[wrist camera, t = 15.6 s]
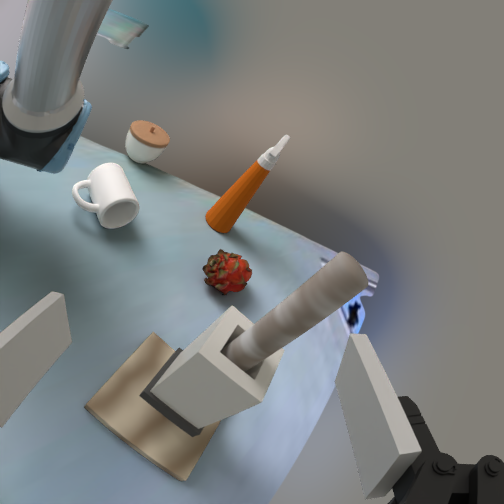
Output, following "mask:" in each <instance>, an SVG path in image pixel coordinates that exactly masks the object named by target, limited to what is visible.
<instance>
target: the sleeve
mask: <svg viewBox="0 0 504 504" xmlns="http://www.w3.org/2000/svg"><path fill="white" fill-rule="evenodd" d="M252 325H254V324H253V323H252V322H251V321H250V320H249V319H247V318H246V317H245V316H244V315H243V314H242V313H241V312H239V311H238V310H237V309H236V308H235V307H234V306H233V305H232V306H231V307H230V308H229V309H228V310H226V311H225V312H224V313H223V314H222V315H221V316H220V317H219V318H218V319H217V320H216V321H215V322H214V323H212V324H211V325H210V326H209V327H208V328H207V329H206V330H205V331H204V332H203V333H202V334H200V335H199V336H198V337H197V338H196V339H195V340H194V341H193V342H192V343H191V344H190V345H188V346H187V347H186V348H185V349H184V350H183V351H182V352H181V353H180V354H179V355H178V357H177V358H176V359H175V360H174V362H173V363H172V364H171V365H170V367H169V368H168V369H167V370H166V372H165V373H164V374H163V375H162V377H161V378H160V379H159V381H158V382H157V383H156V384H155V386H154V387H153V388H152V389H151V391H150V392H152V393H153V394H154V395H155V396H156V397H158V398H159V399H160V400H161V401H162V402H164V403H165V404H166V405H167V406H169V407H170V408H171V409H172V410H174V411H175V412H176V413H178V414H179V415H180V416H181V417H183V418H184V419H185V420H187V421H188V422H189V423H191V424H192V425H194V426H195V427H196V428H198V429H200V428H202V427H205V426H207V425H210V424H212V423H215V422H217V421H220V420H222V419H225V418H227V417H230V416H232V415H234V414H237V413H239V412H241V411H244V410H246V409H248V408H250V407H253V406H255V405H257V404H259V403H261V402H262V401H263V398H264V396H265V394H266V392H267V389H268V387H269V385H270V383H271V380H272V378H273V376H274V374H275V371H276V369H277V367H278V364H279V362H280V360H281V357H282V355H283V353H284V349H283V348H281V349H279V350H278V351H276V352H275V353H273V354H272V355H270V356H269V357H267V358H266V359H264V360H262V361H261V362H259V363H258V364H256V365H255V366H253V367H251V368H250V369H248V370H247V371H245V372H244V371H242V370H241V369H240V368H239V367H238V366H236V365H235V364H234V363H233V362H231V361H230V360H229V359H228V358H227V357H225V356H224V355H223V354H222V353H221V352H220V351H221V350H222V349H223V348H224V347H226V346H227V345H228V344H230V343H231V342H232V341H233V340H235V339H236V338H237V337H239V336H240V335H241V334H242V333H244V332H245V331H246V330H247V329H249V328H250V327H251V326H252Z"/></svg>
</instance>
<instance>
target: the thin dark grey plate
mask: <svg viewBox="0 0 504 504" xmlns="http://www.w3.org/2000/svg"><path fill="white" fill-rule="evenodd" d="M182 351H183V350H182V349H180V348H178V349H177V350H176V351H175V352H174V353H173V354H172V356H171V357H170V358H169V359H168V360H167V362H166V363H165V364H164V365H163V367H162V368H161V369H160V370H159V372H158V373H157V374H156V375H155V376H154V378H153V379H152V380H151V381H150V383H149V384H148V385H147V386H146V388H145V389H144V390H143V391H142V392H141V394H140V395H139V396H140V397H141V398H142V399H144V400H145V401H146V402H147V403H148V404H150V405H151V406H152V407H153V408H155V409H156V410H157V411H158V412H160V413H161V414H162V415H163V416H165V417H166V418H167V419H168V420H170V421H171V422H172V423H174V424H175V425H176V426H178V427H179V428H180V429H182V430H183V431H184V432H186V433H187V434H189V435H190V436H191V437H194V436H197V435H200V433H201V432H202V430H203V428H204V427H202V428H200V429H198V428H196V427H195V426H194V425H192V424H191V423H189V422H188V421H187V420H185V419H184V418H183V417H181V416H180V415H179V414H178V413H176V412H175V411H174V410H172V409H171V408H170V407H169V406H167V405H166V404H165V403H164V402H162V401H161V400H160V399H159V398H158V397H156V396H155V395H154V394H153V393H152V392H150V391H151V389H152V388H153V387H154V386H155V384H156V383H157V382H158V381H159V379H160V378H161V377H162V375H163V374H164V373H165V372H166V370H167V369H168V368H169V367H170V365H171V364H172V363H173V362H174V360H175V359H176V358H177V357H178V355H179V354H180V353H181V352H182Z"/></svg>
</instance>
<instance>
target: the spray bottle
mask: <svg viewBox="0 0 504 504" xmlns="http://www.w3.org/2000/svg"><path fill="white" fill-rule="evenodd" d="M289 139H290V137H289V136H288V135H284V136H283V138H282V139H281V140H280V141H279V142H278V143H277V145H276V146H275V147H272V148H270V149H268V150H267V151H266V153H263V154H262V155H261V156H260V157H259V159H258V160H257V161H256V162H255V163H254V164H253V165H252V166H251V167H250V168H249V169H248V170H247V171H246V172H245V173H244V174H243V175H242V176H241V177H240V178H239V179H238V180H237V181H236V182H235V183H234V185H233V186H231V188H230V189H229V190H228V191H227V192H226V193H225V194H224V195H223V196H222V197H221V198H220V199H219V200H218V201H217V202H216V203H215V204H214V206H213V207H212V208H211V209H210V210H209V211H208V212H207V214H206V221H207V222H208V224H209V225H210V226H211V227H212V228H213V229H214V230H216V231H217V232H221V233H227V232H229V231H230V230H231V228H232V227H233V225H234V224H235V222H236V221H237V219H238V218H239V216H240V215H241V213H242V212H243V210H244V209H245V207H246V206H247V204H248V203H249V201H250V200H251V198H252V197H253V195H254V194H255V192H256V191H257V189H258V188H259V186H260V185H261V183H262V182H263V180H264V179H265V178H266V176H267V175H268V173H269V172H270V170H271V169H272V168H273V166H274V165H275V164H276V163H275V162H276V161H277V159H278V158H279V156H280V151H281V149H282V148H283V147H284V146H285V144H286V143H287V142H288V141H289Z"/></svg>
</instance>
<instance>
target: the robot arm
mask: <svg viewBox="0 0 504 504" xmlns="http://www.w3.org/2000/svg"><path fill="white" fill-rule="evenodd" d="M111 2H112V0H28V2H27V6H26V10H25V15H24V19H23V24H22V29H21V35H20V40H19V47H18V53H17V60H16V69H15V77H14V78H13V79H11V78H8V75H9V66H8V64H6V63H5V62H3V61H0V159H4V160H7V161H10V162H14V163H17V164H21V165H24V166H27V167H31V168H34V169H36V170H37V171H39V172H42V171H44V172H49V173H53V174H55V173H59V172H61V171H62V170H63V169H64V167H65V166H66V164H67V162H68V160H69V158H70V156H71V154H72V152H73V149H74V146H75V145H76V143H77V141H78V139H79V137H80V135H81V132H82V130H83V128H84V126H85V123H86V121H87V119H88V116H89V114H90V112H91V108H92V106H91V104H90V103H89V102H87V101H86V100H85V99H84V88H83V85H82V82H81V81H80V76H81V73H82V70H83V67H84V64H85V62H86V59H87V56H88V54H89V51H90V49H91V46H92V44H93V42H94V39H95V37H96V34H97V32H98V30H99V28H100V25H101V23H102V21H103V19H104V17H105V15H106V12H107V10H108V8H109V6H110V4H111ZM71 343H72V338H71V333H70V328H69V323H68V317H67V311H66V304H65V298H64V294H61V293H57V292H53V291H52V292H51V293H49V294H48V295H47V296H45V297H44V298H43V299H41V300H40V301H39V302H38V303H36V304H35V305H34V306H33V307H31V308H30V309H29V310H28V311H26V312H25V313H24V314H23V315H21V316H20V317H19V318H18V319H16V320H15V321H14V322H13V323H12V324H10V325H9V326H8V327H7V328H6V329H4V330H3V331H2V332H1V333H0V427H1V428H2V427H3V426H4V424H5V423H6V422H7V420H8V419H9V418H10V417H11V415H12V414H13V413H14V411H15V410H16V409H17V408H18V406H19V405H20V404H21V403H22V401H23V400H24V399H25V398H26V396H27V395H28V394H29V393H30V391H31V390H32V389H33V388H34V386H35V385H36V384H37V383H38V382H39V380H40V379H41V378H42V377H43V376H44V374H45V373H46V372H47V371H48V370H49V368H50V367H51V366H52V365H53V364H54V363H55V361H56V360H57V359H58V358H59V357H60V356H61V355H62V353H63V352H64V351H65V350H66V349H67V348H68V347H69V345H70V344H71ZM335 384H336V388H337V392H338V395H339V399H340V402H341V406H342V410H343V414H344V417H345V421H346V425H347V429H348V432H349V436H350V440H351V444H352V448H353V452H354V456H355V460H356V464H357V468H358V473H359V476H360V481H361V485H362V490H363V494H364V498H365V499H371V498H377V497H383V496H385V495H386V494H387V493H388V492H389V491H390V490H391V489H393V492H394V495H395V497H394V498H393V499H392V500H391V501H390V502H389V503H388V504H504V463H503V462H502V460H501V459H499V458H498V457H496V456H493V455H486V456H484V457H482V458H481V459H480V460H479V461H478V463H477V464H476V465H473V464H457V462H456V461H455V459H454V458H453V457H452V456H450V455H448V454H445V453H441V452H440V451H439V449H438V447H437V445H436V443H435V441H434V439H433V437H432V435H431V433H430V431H429V429H428V427H427V425H426V424H425V421H424V419H423V417H422V416H421V413H420V411H419V409H418V407H417V405H416V404H415V403H414V402H413V401H412V400H411V399H410V398H409V397H408V396H402V397H397V395H396V393H395V391H394V389H393V387H392V385H391V383H390V381H389V379H388V377H387V375H386V373H385V371H384V369H383V367H382V365H381V363H380V361H379V359H378V357H377V355H376V353H375V351H374V349H373V347H372V345H371V344H370V341H369V340H368V337H367V335H366V334H350V335H349V339H348V342H347V345H346V349H345V352H344V355H343V358H342V361H341V364H340V367H339V370H338V373H337V376H336V379H335Z"/></svg>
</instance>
